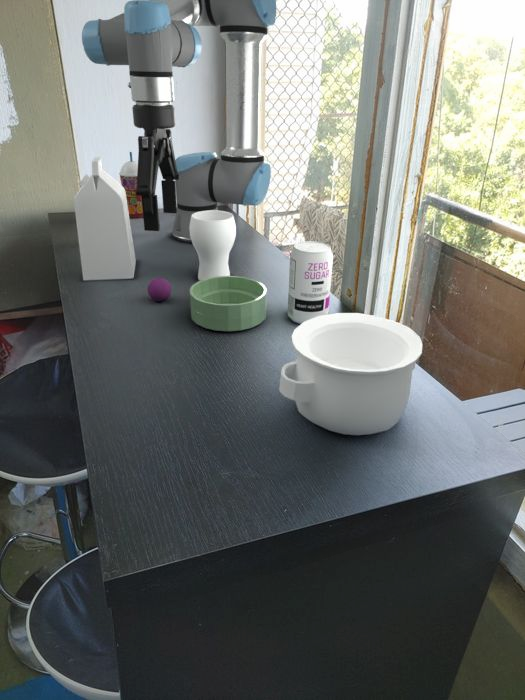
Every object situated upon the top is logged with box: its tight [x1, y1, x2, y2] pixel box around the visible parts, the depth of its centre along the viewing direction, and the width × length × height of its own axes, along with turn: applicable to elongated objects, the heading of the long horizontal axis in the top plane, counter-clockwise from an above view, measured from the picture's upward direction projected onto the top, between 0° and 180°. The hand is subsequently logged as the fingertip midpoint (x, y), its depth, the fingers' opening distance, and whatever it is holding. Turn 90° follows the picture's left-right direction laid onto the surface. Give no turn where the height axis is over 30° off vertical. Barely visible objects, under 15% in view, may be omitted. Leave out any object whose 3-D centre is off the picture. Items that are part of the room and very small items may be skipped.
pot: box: [278, 312, 424, 436], centre depth 75 cm, size 22×17×12 cm
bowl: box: [188, 275, 268, 332], centre depth 105 cm, size 15×15×6 cm
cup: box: [189, 210, 237, 281], centre depth 122 cm, size 11×11×15 cm
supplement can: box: [287, 240, 334, 325], centre depth 103 cm, size 8×8×15 cm
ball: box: [146, 277, 172, 302], centre depth 112 cm, size 5×5×5 cm
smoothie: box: [119, 151, 143, 219], centre depth 169 cm, size 8×8×20 cm
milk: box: [73, 156, 137, 281], centre depth 122 cm, size 12×12×26 cm
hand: (161, 221), depth 104 cm, fingers open, 13 cm apart
